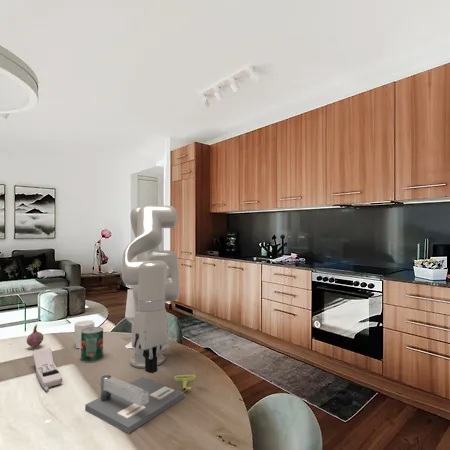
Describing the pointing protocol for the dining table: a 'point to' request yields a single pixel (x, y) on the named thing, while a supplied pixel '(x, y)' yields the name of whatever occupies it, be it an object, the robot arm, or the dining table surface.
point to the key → (185, 380)
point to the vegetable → (35, 338)
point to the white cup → (79, 327)
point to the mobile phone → (46, 368)
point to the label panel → (135, 405)
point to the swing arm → (123, 390)
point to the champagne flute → (130, 311)
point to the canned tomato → (91, 344)
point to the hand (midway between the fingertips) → (151, 371)
